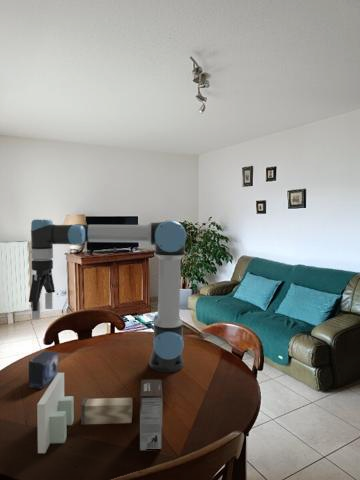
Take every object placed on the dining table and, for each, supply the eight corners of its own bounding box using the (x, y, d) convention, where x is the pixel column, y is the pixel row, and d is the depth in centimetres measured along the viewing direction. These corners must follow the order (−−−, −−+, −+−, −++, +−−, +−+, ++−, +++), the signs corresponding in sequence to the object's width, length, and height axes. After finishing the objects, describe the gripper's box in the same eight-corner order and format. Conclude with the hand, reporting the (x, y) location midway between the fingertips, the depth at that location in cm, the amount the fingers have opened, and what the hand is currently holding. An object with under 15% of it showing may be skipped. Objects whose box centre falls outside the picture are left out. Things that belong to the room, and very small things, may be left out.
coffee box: (140, 429, 97) (140, 379, 96) (161, 428, 98) (161, 378, 97) (139, 451, 88) (139, 395, 87) (162, 450, 89) (162, 394, 88)
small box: (42, 390, 119) (42, 363, 118) (27, 388, 120) (27, 361, 120) (59, 376, 130) (58, 351, 129) (44, 374, 131) (44, 350, 130)
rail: (132, 415, 105) (132, 396, 104) (131, 423, 101) (131, 403, 100) (84, 416, 104) (84, 397, 103) (81, 424, 100) (81, 405, 99)
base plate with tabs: (76, 412, 105) (76, 372, 104) (60, 452, 87) (59, 403, 87) (58, 413, 105) (57, 372, 104) (37, 453, 87) (37, 404, 86)
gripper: (44, 255, 134) (44, 305, 135) (17, 263, 109) (18, 324, 110) (62, 255, 134) (62, 305, 135) (40, 264, 109) (40, 324, 110)
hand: (42, 313), depth 123 cm, fingers open, 13 cm apart
